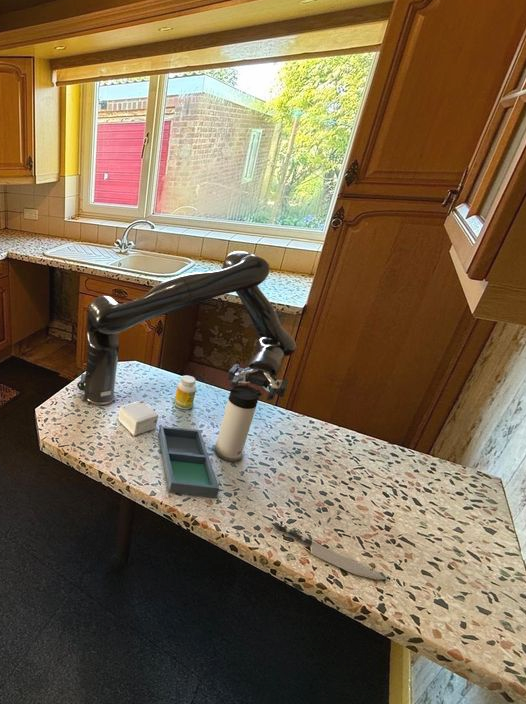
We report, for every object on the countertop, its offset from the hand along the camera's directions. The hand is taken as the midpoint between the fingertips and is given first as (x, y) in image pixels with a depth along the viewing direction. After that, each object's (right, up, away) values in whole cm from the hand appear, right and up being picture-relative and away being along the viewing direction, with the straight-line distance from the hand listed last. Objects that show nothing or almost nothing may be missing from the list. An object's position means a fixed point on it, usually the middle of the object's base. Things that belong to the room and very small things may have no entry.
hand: (251, 391), depth 106 cm
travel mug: (-7, -16, -1) cm, 18 cm away
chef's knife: (0, -29, -26) cm, 39 cm away
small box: (-28, -11, +10) cm, 32 cm away
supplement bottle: (-11, -7, +18) cm, 22 cm away
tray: (-19, -18, -4) cm, 26 cm away
